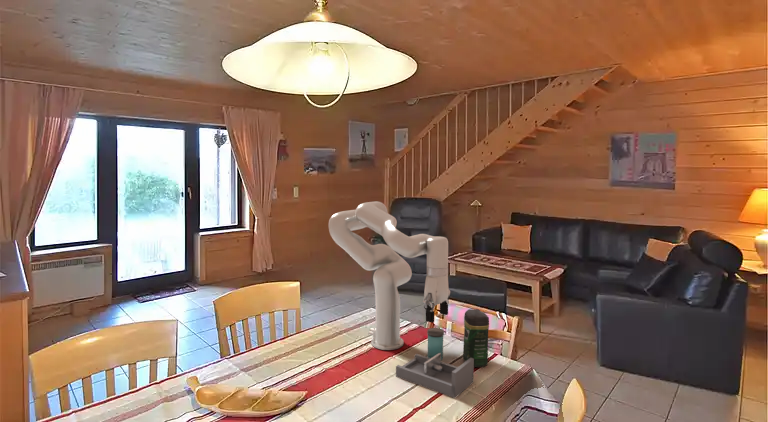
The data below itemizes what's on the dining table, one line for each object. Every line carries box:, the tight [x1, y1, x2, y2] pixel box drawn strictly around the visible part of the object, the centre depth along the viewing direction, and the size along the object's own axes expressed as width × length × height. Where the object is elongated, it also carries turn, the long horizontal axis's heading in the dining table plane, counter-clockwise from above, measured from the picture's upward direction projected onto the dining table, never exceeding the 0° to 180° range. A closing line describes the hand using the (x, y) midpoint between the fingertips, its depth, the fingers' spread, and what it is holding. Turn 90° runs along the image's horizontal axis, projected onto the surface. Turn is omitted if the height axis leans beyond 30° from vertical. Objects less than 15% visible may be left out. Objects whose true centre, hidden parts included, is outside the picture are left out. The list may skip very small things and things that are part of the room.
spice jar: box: [426, 327, 445, 361], centre depth 160 cm, size 6×6×10 cm
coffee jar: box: [462, 308, 490, 368], centre depth 156 cm, size 10×8×19 cm
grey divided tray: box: [395, 353, 475, 399], centre depth 144 cm, size 22×12×8 cm, turn 53°
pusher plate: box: [424, 353, 443, 377], centre depth 144 cm, size 4×9×6 cm, turn 143°
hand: (437, 317), depth 159 cm, fingers open, 9 cm apart
